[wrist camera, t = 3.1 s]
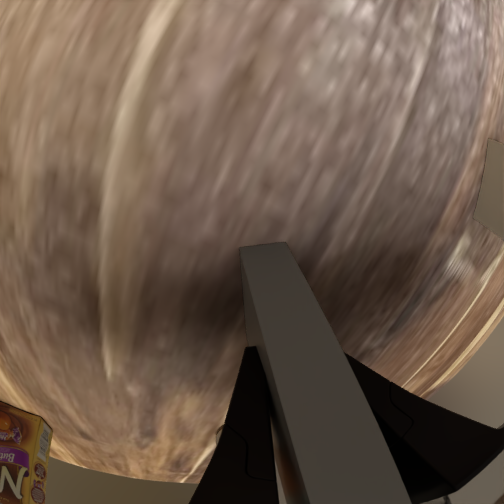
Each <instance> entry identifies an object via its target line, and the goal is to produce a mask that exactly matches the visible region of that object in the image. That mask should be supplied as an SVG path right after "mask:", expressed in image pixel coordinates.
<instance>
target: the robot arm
mask: <svg viewBox="0 0 504 504" xmlns="http://www.w3.org/2000/svg"><path fill="white" fill-rule="evenodd" d="M344 354H345V356H346V358H347V360H348V362H349V364H350V366H351V368H352V371H353V373H354V375H355V377H356V379H357V381H358V383H359V385H360V387H361V389H362V391H363V393H364V395H365V398H366V400H367V402H368V404H369V406H370V408H371V410H372V413H373V415H374V417H375V419H376V421H377V423H378V426H379V428H380V430H381V432H382V435H383V437H384V439H385V441H386V444H387V446H388V448H389V450H390V453H391V455H392V457H393V460H394V462H395V464H396V467H397V469H398V471H399V474H400V476H401V479H402V481H403V483H404V486H405V488H406V491H407V493H408V496H409V498H410V501H411V503H412V504H504V423H503V424H502V425H501V426H500V427H498V428H497V429H496V428H492V427H490V426H487V425H484V424H481V423H479V422H477V421H474V420H471V419H469V418H467V417H464V416H462V415H459V414H457V413H455V412H452V411H450V410H447V409H445V408H443V407H440V406H438V405H436V404H434V403H431V402H429V401H427V400H425V399H422V398H420V397H418V396H416V395H414V394H412V393H410V392H409V391H407V390H405V389H403V388H401V387H400V386H398V385H396V384H395V383H393V382H390V381H389V380H388V379H386V378H384V377H383V376H381V375H380V374H378V373H376V372H375V371H373V370H372V369H370V368H368V367H367V366H365V365H364V364H362V363H360V362H359V361H357V360H356V359H354V358H353V357H351V356H349V355H348V354H346V353H345V352H344ZM224 423H225V424H224V425H223V428H222V432H221V435H220V438H219V441H218V444H217V447H216V449H215V451H214V454H213V456H212V458H211V461H210V463H209V465H208V467H207V469H206V471H205V473H204V475H203V477H202V479H201V481H200V483H199V485H198V487H197V488H196V490H195V493H194V494H193V496H192V498H191V500H190V502H189V504H279V495H278V485H277V476H276V467H275V457H274V448H273V438H272V429H271V419H270V410H269V400H268V391H267V381H266V375H265V372H264V368H263V365H262V362H261V359H260V356H259V353H258V350H257V347H256V346H249V347H246V348H245V351H244V354H243V358H242V362H241V365H240V369H239V373H238V376H237V380H236V383H235V387H234V391H233V394H232V398H231V401H230V405H229V408H228V412H227V415H226V419H225V422H224Z"/></svg>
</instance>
